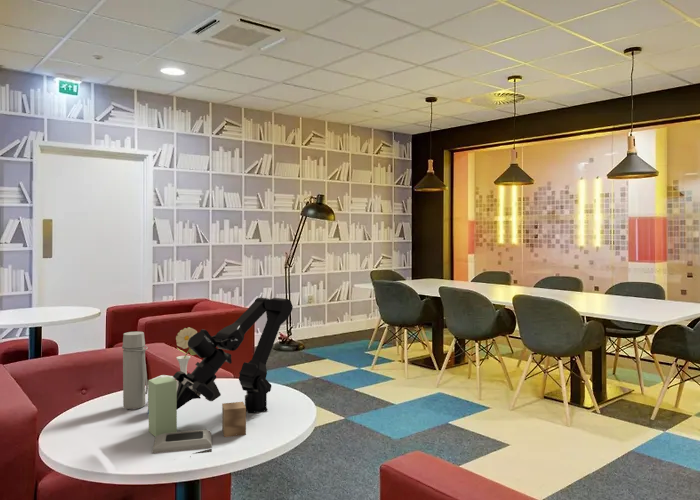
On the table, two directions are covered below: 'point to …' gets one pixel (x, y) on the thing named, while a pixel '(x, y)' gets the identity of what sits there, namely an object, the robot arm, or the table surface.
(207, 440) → the grey tray
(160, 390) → the sage key
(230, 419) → the walnut block
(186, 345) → the flower in vase
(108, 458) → the table surface
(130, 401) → the water bottle
